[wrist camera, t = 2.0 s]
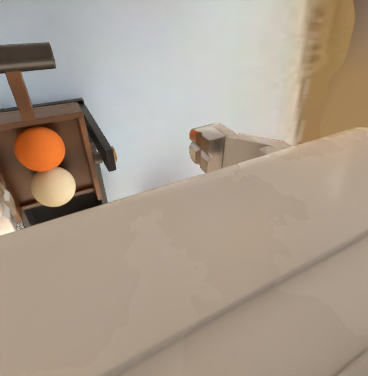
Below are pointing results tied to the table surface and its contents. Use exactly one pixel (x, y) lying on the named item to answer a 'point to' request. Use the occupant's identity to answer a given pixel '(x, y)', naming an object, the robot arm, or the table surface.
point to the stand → (93, 130)
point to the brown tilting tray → (45, 117)
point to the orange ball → (39, 148)
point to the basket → (73, 206)
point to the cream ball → (53, 187)
